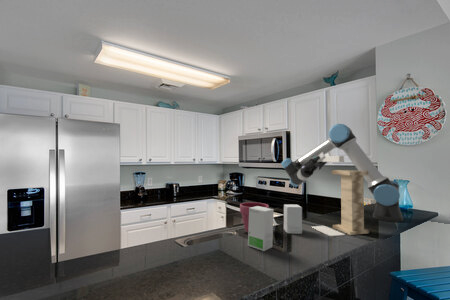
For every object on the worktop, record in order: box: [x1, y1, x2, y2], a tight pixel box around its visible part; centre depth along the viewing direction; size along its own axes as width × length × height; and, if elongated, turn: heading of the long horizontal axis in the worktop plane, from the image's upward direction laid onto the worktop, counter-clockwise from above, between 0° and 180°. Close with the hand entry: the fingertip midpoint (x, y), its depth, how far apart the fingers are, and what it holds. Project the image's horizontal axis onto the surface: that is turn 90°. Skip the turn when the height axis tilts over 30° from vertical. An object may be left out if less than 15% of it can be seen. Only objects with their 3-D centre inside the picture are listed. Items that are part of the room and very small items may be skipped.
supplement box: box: [283, 204, 303, 235], centre depth 119 cm, size 7×7×13 cm
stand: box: [331, 169, 370, 236], centre depth 121 cm, size 11×12×30 cm
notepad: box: [311, 225, 346, 237], centre depth 119 cm, size 8×15×1 cm, turn 16°
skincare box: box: [247, 206, 275, 252], centre depth 98 cm, size 8×7×16 cm
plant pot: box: [239, 201, 270, 233], centre depth 120 cm, size 14×14×13 cm
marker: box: [314, 155, 345, 163], centre depth 136 cm, size 3×21×3 cm, turn 16°
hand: (326, 154), depth 138 cm, fingers closed on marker, 3 cm apart
